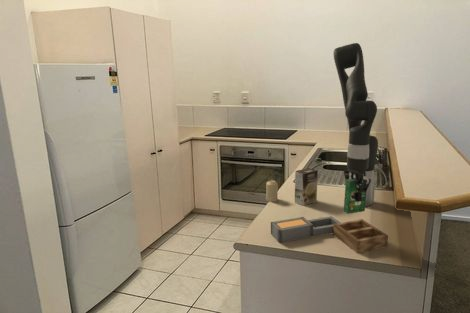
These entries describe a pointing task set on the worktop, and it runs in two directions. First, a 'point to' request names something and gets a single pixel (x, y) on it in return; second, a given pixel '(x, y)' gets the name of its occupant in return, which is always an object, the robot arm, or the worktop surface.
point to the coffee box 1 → (306, 186)
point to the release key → (291, 224)
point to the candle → (272, 190)
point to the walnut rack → (360, 235)
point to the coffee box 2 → (353, 198)
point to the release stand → (303, 229)
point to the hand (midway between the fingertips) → (355, 199)
